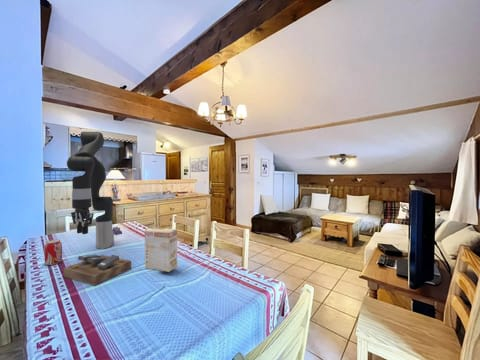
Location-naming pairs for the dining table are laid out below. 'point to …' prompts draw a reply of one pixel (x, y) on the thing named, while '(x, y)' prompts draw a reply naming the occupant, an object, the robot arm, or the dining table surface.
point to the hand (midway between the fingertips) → (82, 233)
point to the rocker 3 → (108, 262)
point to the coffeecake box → (161, 249)
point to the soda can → (53, 252)
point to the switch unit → (96, 271)
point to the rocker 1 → (85, 258)
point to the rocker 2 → (96, 259)
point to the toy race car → (116, 230)
